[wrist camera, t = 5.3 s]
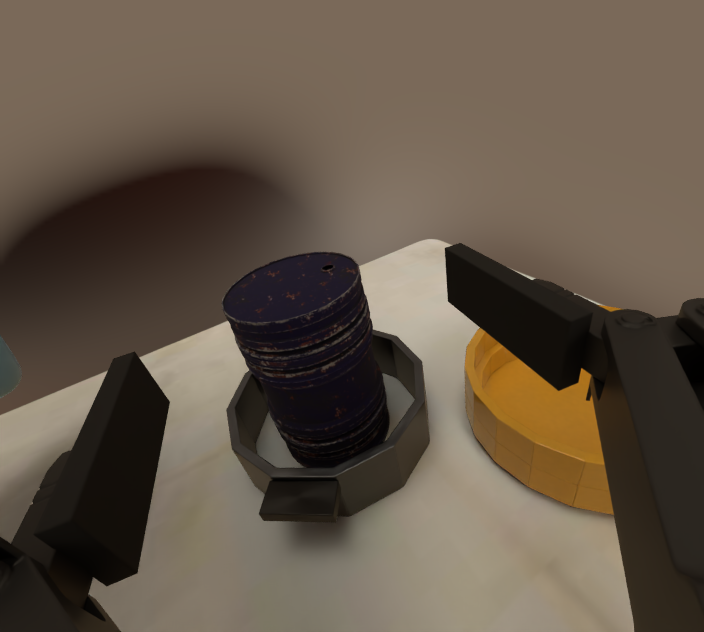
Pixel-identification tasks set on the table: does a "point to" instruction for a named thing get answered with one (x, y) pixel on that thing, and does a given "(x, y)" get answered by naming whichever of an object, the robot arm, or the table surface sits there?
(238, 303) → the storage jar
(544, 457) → the bowl
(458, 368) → the table surface
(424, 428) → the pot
